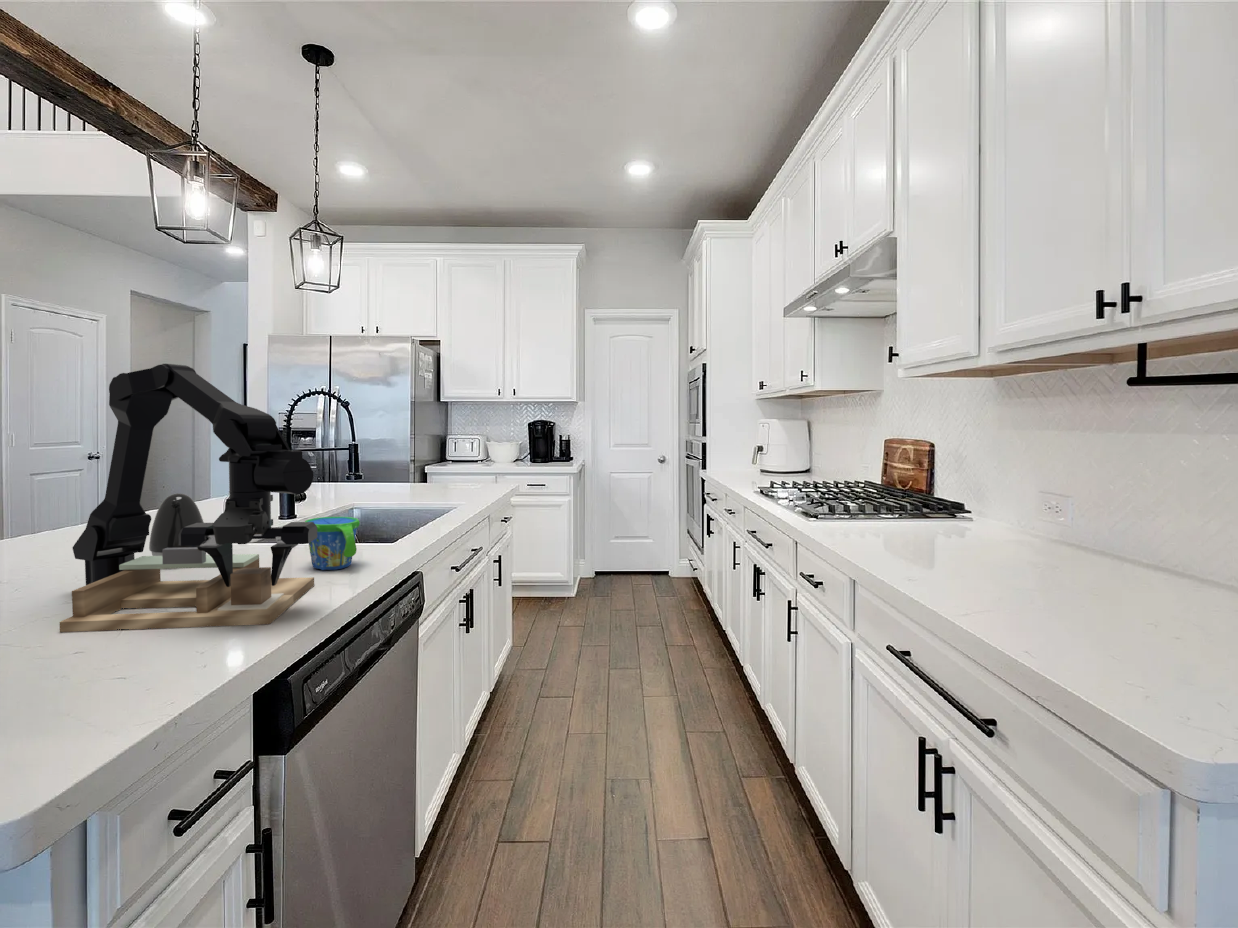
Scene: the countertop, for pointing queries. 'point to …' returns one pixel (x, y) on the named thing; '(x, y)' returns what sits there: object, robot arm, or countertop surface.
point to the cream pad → (252, 607)
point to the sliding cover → (183, 560)
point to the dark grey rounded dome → (172, 522)
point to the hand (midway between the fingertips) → (251, 585)
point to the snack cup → (333, 542)
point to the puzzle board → (170, 602)
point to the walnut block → (250, 586)
